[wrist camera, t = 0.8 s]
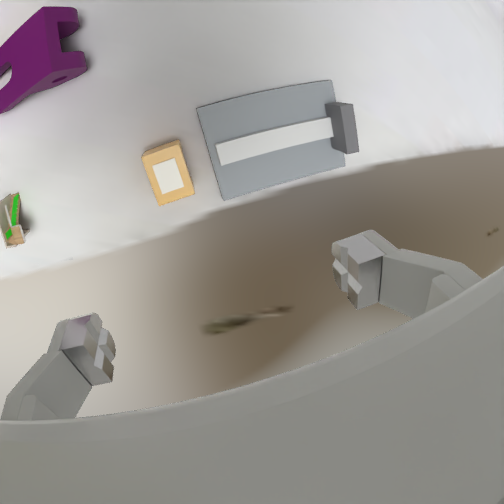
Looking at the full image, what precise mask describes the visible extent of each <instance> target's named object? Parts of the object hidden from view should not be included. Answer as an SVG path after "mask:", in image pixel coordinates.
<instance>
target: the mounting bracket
mask: <svg viewBox="0 0 504 504" xmlns="http://www.w3.org/2000/svg"><path fill="white" fill-rule="evenodd" d="M78 27H79V21H78V14H77V10H76V9H75V8H72V7H42V8H41V9H40V10H38V11H37V12H36V13H35V14H34V15H33V16H32V17H30V18H29V19H28V20H27V21H26V22H25V23H24V24H23V25H22V26H21V27H20V28H19V29H18V30H17V31H16V32H15V33H14V34H13V35H12V36H11V37H10V38H9V39H8V40H7V41H6V42H5V43H4V44H3V45H2V46H1V47H0V76H1V75H2V74H3V73H4V72H5V71H6V70H7V69H8V68H9V67H10V66H12V76H11V79H10V81H9V82H8V83H7V84H6V85H5V86H4V87H3V88H2V89H1V90H0V114H1V113H4V112H6V111H9V110H10V109H12V108H13V107H14V106H15V105H17V104H18V103H19V102H20V101H22V100H23V99H24V98H25V97H27V96H28V95H30V94H32V93H36V92H39V91H43V90H46V89H49V88H52V87H55V86H58V85H60V84H62V83H64V82H67V81H69V80H71V79H73V78H75V77H77V76H79V75H81V74H82V73H84V72H85V71H86V70H87V66H86V61H85V56H84V52H82V51H73V52H63V53H62V51H61V45H60V40H61V39H63V38H65V37H67V36H69V35H71V34H72V33H74V32H75V31H76V30H77V29H78Z"/></svg>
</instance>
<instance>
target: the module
mask: <svg viewBox="0 0 504 504" xmlns="http://www.w3.org/2000/svg"><path fill="white" fill-rule="evenodd" d="M141 158H142V161H143V164H144V167H145V170H146V172H147V175H148V178H149V181H150V183H151V186H152V189H153V191H154V194H155V197H156V199H157V202H158V204H159V206H161V205H164V204H167V203H170V202H173V201H176V200H179V199H181V198H184V197H187V196H190V195H193V194H195V192H194V186H193V182H192V179H191V176H190V174H189V171H188V168H187V165H186V162H185V159H184V156H183V153H182V148H181V145H180V141H179V140H176V141H173V142H170V143H167V144H164V145H161V146H158V147H156V148H153V149H150V150H148V151H145V152H144V154H143V156H142V157H141Z"/></svg>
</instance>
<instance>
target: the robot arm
mask: <svg viewBox="0 0 504 504" xmlns="http://www.w3.org/2000/svg"><path fill="white" fill-rule="evenodd" d="M332 254H333V256H334V257H335V258H336V260H335V261H334V263H333V275H334V278H335V281H336V283H337V285H338V286H339V288H340V289H341V290H342V291H345V292H348V299H349V300H350V302H351V303H352V304H353V305H354V307H355V308H356V309H357V310H358V309H361V308H364V307H367V306H370V305H372V304H375V303H377V302H379V303H380V304H382V305H385V306H387V307H389V308H391V309H393V310H396V311H398V312H400V313H402V314H404V315H406V316H409V317H411V318H413V319H412V320H410V321H408V322H406V323H404V324H402V325H400V326H398V327H396V328H394V329H392V330H390V331H388V332H385V333H383V334H381V335H379V336H377V337H375V338H373V339H370V340H368V341H366V342H363V343H361V344H359V345H357V346H354V347H352V348H349V349H347V350H344V351H342V352H339V353H337V354H334V355H332V356H329V357H327V358H324V359H322V360H319V361H316V362H314V363H311V364H308V365H305V366H303V367H300V368H297V369H294V370H291V371H288V372H285V373H283V374H279V375H276V376H273V377H270V378H267V379H264V380H261V381H257V382H254V383H251V384H247V385H244V386H240V387H237V388H234V389H230V390H226V391H222V392H219V393H215V394H211V395H207V396H203V397H199V398H195V399H190V400H186V401H181V402H177V403H172V404H167V405H162V406H157V407H152V408H146V409H140V410H134V411H128V412H121V413H114V414H107V415H99V416H90V417H80V418H75V417H76V415H77V413H78V411H79V409H80V407H81V406H82V404H83V402H84V401H85V399H86V397H87V395H88V394H89V392H90V390H91V389H92V386H94V385H99V384H104V383H109V382H112V378H113V370H114V367H113V365H112V364H111V361H112V360H113V359H114V357H115V352H116V349H115V343H114V340H113V338H112V336H111V335H110V333H109V331H108V330H106V329H104V328H102V320H101V319H100V318H99V316H98V314H96V313H90V314H86V315H82V316H78V317H74V318H71V319H66V320H63V321H60V322H59V323H58V324H57V326H56V329H55V332H54V335H53V337H52V340H51V343H50V346H49V349H48V352H47V353H46V354H43V355H42V357H41V358H40V359H39V360H38V361H37V362H36V363H35V364H34V366H32V368H31V369H30V370H29V371H28V372H27V373H26V374H25V376H24V377H23V378H22V379H21V380H20V381H19V382H18V384H17V385H16V386H15V387H14V388H13V389H12V391H11V392H10V393H9V394H8V396H7V398H6V402H5V405H4V409H3V412H2V416H1V419H0V504H504V266H503V267H501V268H500V269H499V270H497V271H495V272H494V273H492V274H491V275H489V276H488V277H486V278H485V279H482V278H480V277H479V276H478V275H477V274H476V273H474V272H473V271H472V270H471V269H469V268H468V267H467V266H466V265H464V264H463V263H460V262H456V261H452V260H448V259H444V258H440V257H435V256H431V255H427V254H423V253H419V252H415V251H410V250H406V249H400V250H398V249H397V248H396V247H395V246H393V245H392V244H391V243H390V242H388V241H387V240H386V239H384V238H383V237H382V236H380V235H379V234H378V233H377V232H375V231H374V230H368V231H365V232H362V233H360V234H358V235H354V236H351V237H349V238H345V239H343V240H340V241H337V242H334V243H332Z"/></svg>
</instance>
